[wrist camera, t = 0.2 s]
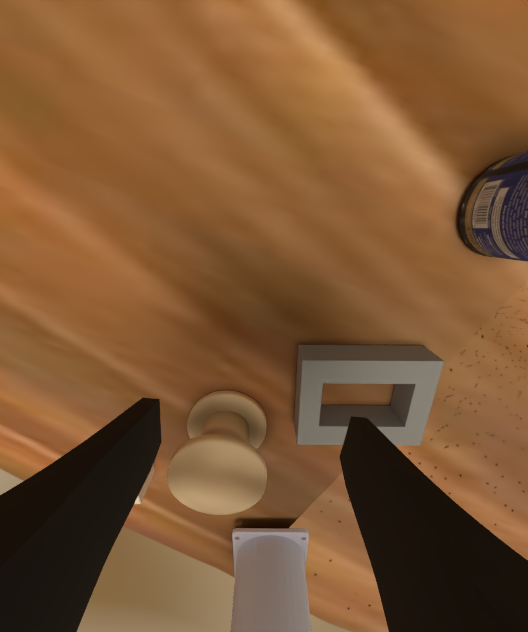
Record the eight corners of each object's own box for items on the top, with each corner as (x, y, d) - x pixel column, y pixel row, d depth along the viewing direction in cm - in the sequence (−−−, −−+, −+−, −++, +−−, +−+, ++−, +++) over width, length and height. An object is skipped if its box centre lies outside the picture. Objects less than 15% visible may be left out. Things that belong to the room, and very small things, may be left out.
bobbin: (266, 451, 24) (266, 515, 19) (193, 451, 24) (173, 514, 19) (266, 390, 22) (267, 443, 16) (185, 389, 22) (160, 442, 16)
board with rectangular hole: (404, 422, 23) (420, 445, 20) (294, 421, 23) (297, 444, 20) (423, 345, 20) (444, 361, 18) (298, 344, 20) (302, 360, 18)
